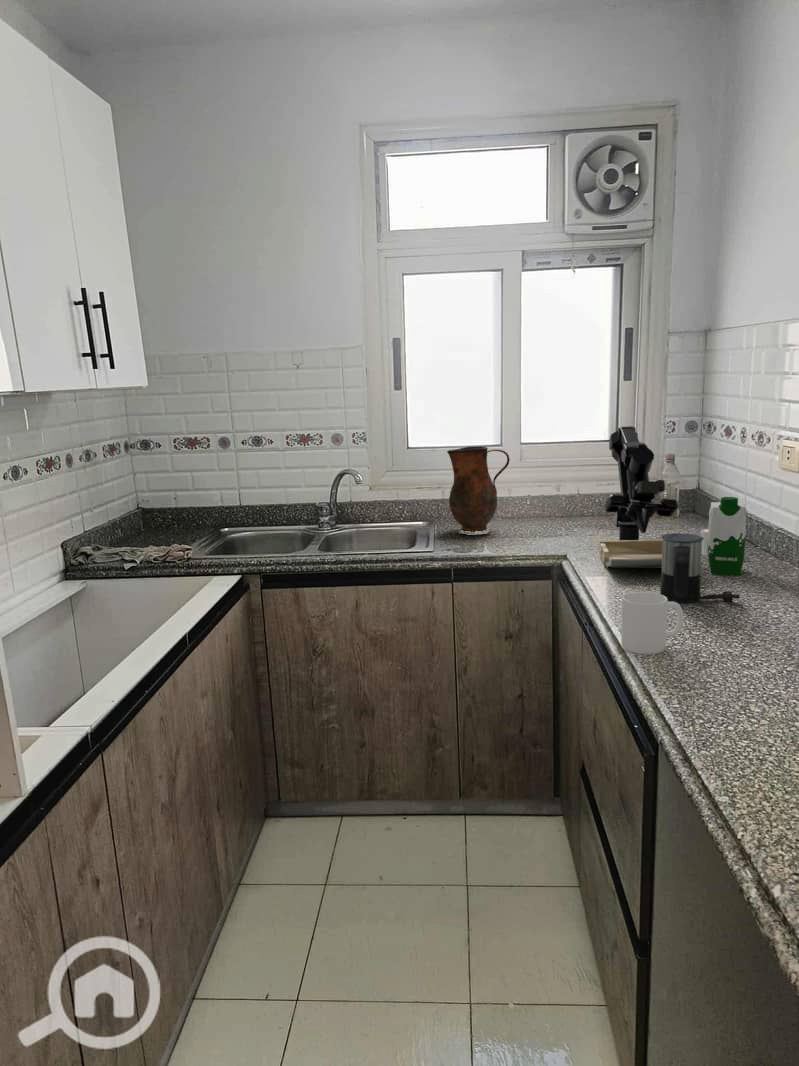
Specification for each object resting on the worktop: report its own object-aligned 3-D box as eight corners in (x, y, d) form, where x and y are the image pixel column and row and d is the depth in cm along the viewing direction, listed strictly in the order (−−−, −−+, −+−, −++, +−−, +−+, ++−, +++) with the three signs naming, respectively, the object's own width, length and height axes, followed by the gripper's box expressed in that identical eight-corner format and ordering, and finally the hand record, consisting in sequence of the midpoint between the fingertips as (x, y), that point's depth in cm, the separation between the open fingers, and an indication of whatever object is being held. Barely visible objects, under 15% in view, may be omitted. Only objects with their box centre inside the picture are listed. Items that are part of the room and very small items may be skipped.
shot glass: (728, 557, 201) (729, 533, 200) (702, 557, 202) (703, 533, 201) (722, 551, 208) (723, 528, 206) (697, 551, 209) (698, 528, 208)
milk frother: (654, 592, 173) (656, 533, 170) (720, 590, 172) (723, 530, 169) (673, 611, 159) (675, 546, 156) (745, 608, 158) (749, 544, 155)
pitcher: (450, 528, 258) (447, 446, 252) (509, 527, 256) (508, 443, 249) (449, 538, 242) (446, 450, 235) (512, 537, 239) (510, 448, 233)
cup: (614, 641, 142) (615, 593, 140) (672, 636, 143) (673, 588, 141) (631, 657, 134) (632, 605, 132) (692, 651, 135) (694, 601, 133)
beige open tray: (599, 557, 208) (599, 540, 207) (674, 556, 204) (675, 539, 203) (604, 567, 196) (604, 550, 195) (684, 567, 193) (684, 549, 192)
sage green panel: (605, 561, 196) (611, 558, 183) (683, 561, 192) (694, 557, 180) (605, 568, 196) (611, 565, 183) (683, 567, 192) (695, 565, 180)
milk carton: (708, 575, 185) (711, 499, 180) (705, 566, 193) (708, 493, 189) (745, 576, 182) (749, 499, 178) (741, 567, 190) (745, 494, 186)
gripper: (614, 465, 194) (619, 515, 187) (682, 471, 194) (689, 520, 187) (602, 486, 204) (606, 534, 196) (667, 491, 204) (673, 540, 197)
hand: (643, 532), depth 194 cm, fingers closed
